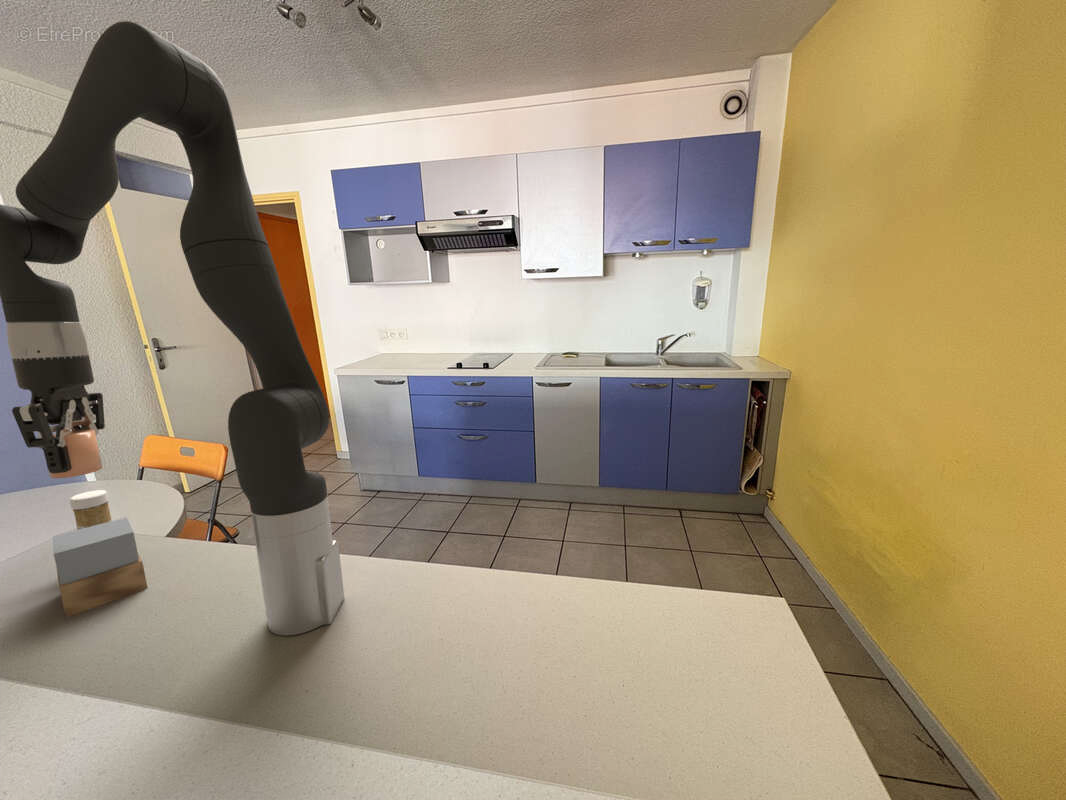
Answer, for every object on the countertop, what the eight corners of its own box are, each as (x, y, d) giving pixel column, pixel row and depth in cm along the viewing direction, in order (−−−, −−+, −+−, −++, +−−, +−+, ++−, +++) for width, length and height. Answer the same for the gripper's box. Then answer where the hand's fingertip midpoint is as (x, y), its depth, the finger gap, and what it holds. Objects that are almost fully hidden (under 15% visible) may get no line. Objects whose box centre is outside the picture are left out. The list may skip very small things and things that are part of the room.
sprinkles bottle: (117, 566, 76) (102, 495, 74) (81, 575, 73) (64, 501, 71) (123, 555, 80) (109, 487, 77) (89, 563, 77) (74, 492, 75)
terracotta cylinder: (112, 465, 68) (104, 428, 67) (80, 477, 63) (72, 437, 62) (73, 467, 67) (65, 430, 66) (38, 479, 62) (29, 439, 61)
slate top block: (132, 544, 74) (126, 517, 73) (139, 560, 68) (133, 531, 68) (59, 565, 68) (52, 536, 67) (61, 585, 62) (53, 553, 61)
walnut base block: (138, 570, 75) (133, 543, 74) (147, 589, 69) (142, 560, 68) (63, 595, 68) (56, 566, 67) (66, 618, 62) (59, 587, 62)
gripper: (45, 356, 56) (72, 478, 59) (114, 350, 70) (134, 450, 73) (-31, 358, 54) (1, 485, 57) (56, 352, 68) (78, 455, 71)
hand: (75, 465), depth 65 cm, fingers closed on terracotta cylinder, 5 cm apart
